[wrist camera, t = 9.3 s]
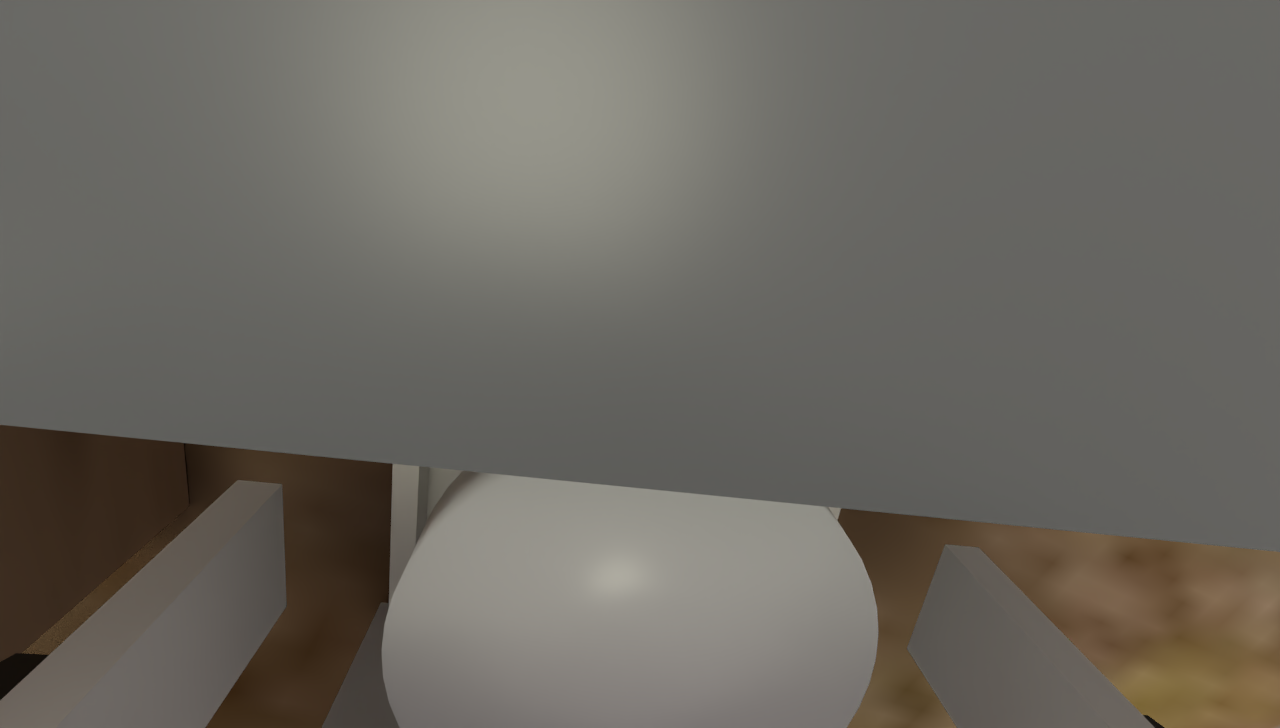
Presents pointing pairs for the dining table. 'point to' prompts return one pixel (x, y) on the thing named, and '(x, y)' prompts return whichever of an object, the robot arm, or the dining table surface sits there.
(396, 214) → the grey drawer cabinet
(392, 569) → the grey drawer
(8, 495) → the riser cube
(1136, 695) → the dining table surface
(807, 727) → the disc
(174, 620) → the robot arm
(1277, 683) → the dining table surface
